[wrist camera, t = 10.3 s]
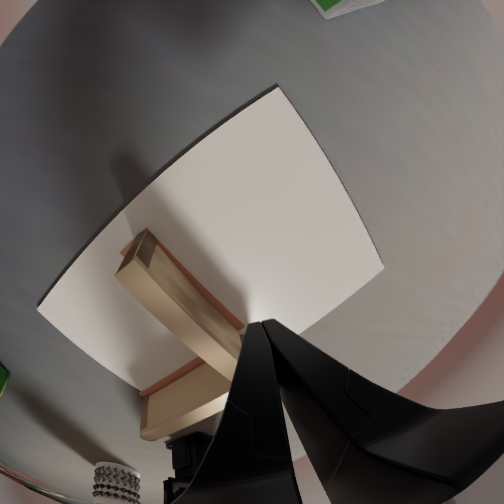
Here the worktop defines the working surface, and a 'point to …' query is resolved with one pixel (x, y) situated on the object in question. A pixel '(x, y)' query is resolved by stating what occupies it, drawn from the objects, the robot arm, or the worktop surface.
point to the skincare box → (340, 6)
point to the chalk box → (3, 379)
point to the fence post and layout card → (219, 258)
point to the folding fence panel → (178, 304)
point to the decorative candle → (116, 484)
